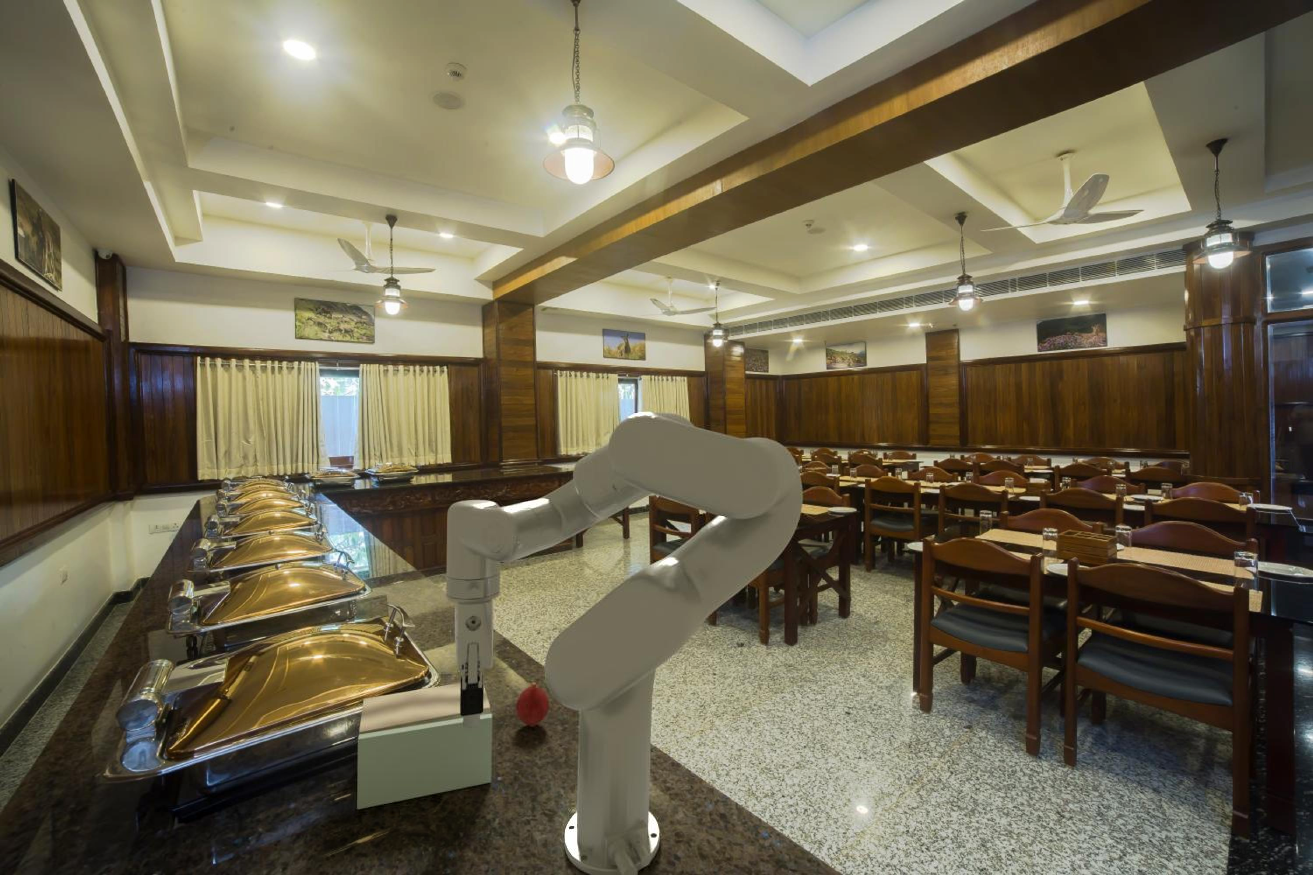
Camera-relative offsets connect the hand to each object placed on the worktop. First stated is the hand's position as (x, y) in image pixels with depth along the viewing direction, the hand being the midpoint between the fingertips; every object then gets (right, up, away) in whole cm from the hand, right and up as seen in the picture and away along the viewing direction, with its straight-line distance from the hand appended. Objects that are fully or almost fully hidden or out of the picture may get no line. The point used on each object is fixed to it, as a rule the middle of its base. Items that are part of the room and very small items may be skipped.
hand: (471, 707), depth 81 cm
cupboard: (-9, -12, +5) cm, 16 cm away
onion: (+5, -12, +18) cm, 22 cm away
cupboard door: (-6, -12, -2) cm, 14 cm away
